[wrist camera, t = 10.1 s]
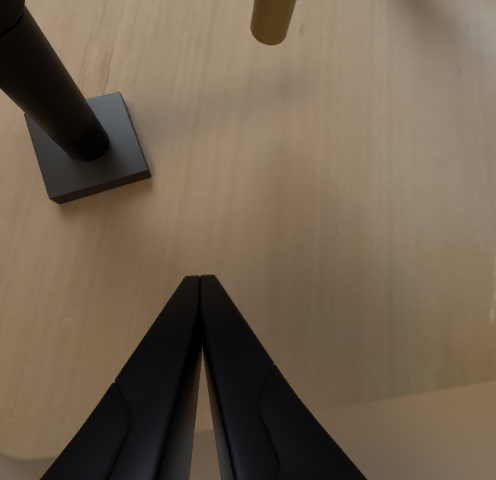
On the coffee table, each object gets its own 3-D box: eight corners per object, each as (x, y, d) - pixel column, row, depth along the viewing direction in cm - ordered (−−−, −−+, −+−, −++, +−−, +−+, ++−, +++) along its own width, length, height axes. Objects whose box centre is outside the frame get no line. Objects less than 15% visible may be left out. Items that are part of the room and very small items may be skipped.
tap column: (151, 176, 21) (94, 63, 11) (58, 204, 20) (-112, 103, 9) (124, 102, 22) (48, -69, 12) (33, 123, 21) (-145, -50, 10)
